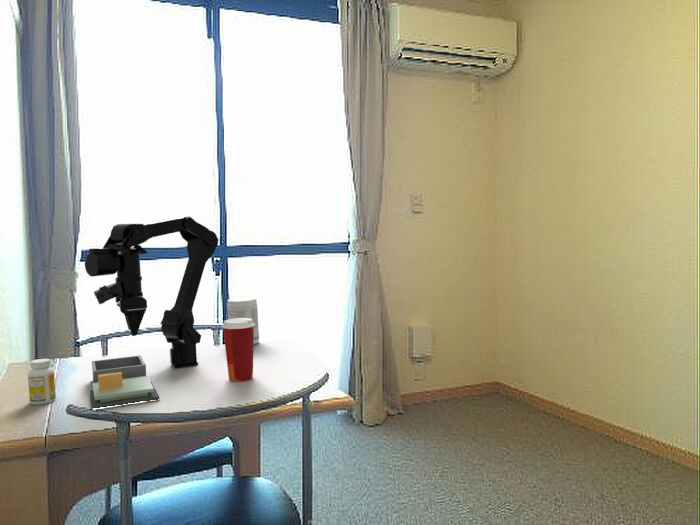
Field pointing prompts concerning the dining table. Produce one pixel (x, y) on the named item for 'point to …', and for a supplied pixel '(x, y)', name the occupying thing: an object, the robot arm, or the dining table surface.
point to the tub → (119, 367)
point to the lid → (120, 387)
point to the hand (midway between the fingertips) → (132, 332)
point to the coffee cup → (239, 348)
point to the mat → (99, 404)
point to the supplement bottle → (41, 382)
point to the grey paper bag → (244, 312)
